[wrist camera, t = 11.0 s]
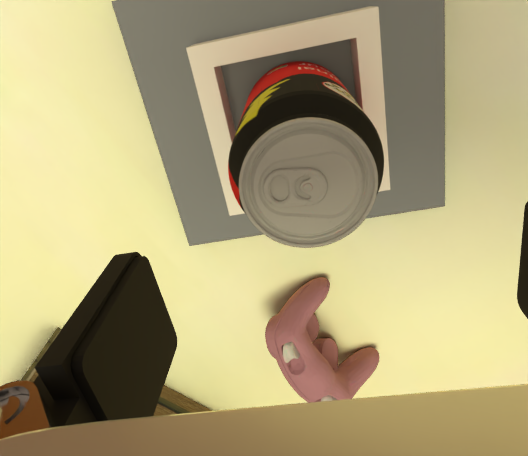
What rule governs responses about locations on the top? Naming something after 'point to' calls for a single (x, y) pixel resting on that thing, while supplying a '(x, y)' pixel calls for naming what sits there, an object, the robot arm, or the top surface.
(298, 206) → the beverage can
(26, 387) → the robot arm
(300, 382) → the video game controller
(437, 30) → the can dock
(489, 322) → the top surface
